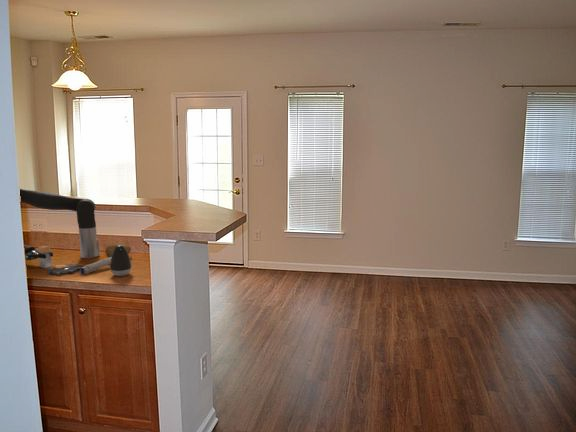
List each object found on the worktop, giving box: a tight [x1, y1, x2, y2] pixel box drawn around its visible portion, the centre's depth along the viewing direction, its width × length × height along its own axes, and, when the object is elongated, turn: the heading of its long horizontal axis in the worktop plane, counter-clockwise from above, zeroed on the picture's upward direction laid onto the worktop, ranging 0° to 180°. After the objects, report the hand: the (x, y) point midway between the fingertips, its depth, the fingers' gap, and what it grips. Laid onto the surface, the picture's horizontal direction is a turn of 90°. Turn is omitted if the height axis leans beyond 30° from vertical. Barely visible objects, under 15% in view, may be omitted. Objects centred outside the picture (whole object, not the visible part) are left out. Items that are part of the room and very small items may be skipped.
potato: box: [105, 243, 132, 258], centre depth 272 cm, size 9×16×9 cm, turn 144°
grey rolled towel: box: [79, 257, 111, 276], centre depth 252 cm, size 5×7×25 cm
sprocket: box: [46, 263, 83, 277], centre depth 249 cm, size 17×17×2 cm
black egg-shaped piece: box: [109, 245, 132, 277], centre depth 241 cm, size 10×10×15 cm
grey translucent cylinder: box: [37, 245, 53, 269], centre depth 255 cm, size 4×4×11 cm
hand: (48, 255), depth 254 cm, fingers closed on grey translucent cylinder, 4 cm apart
